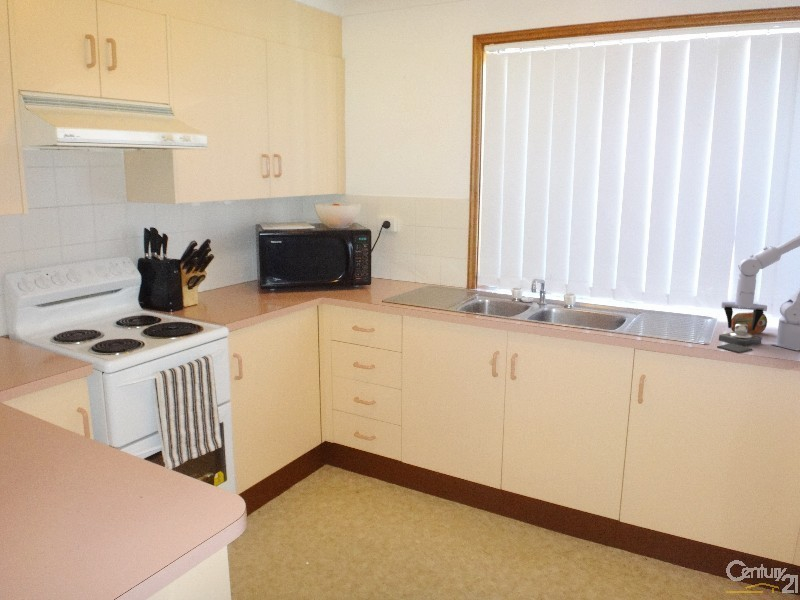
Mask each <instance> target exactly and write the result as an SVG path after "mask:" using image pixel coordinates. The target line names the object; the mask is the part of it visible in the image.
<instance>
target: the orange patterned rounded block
mask: <svg viewBox="0 0 800 600" xmlns="http://www.w3.org/2000/svg"><path fill="white" fill-rule="evenodd" d="M767 318H768V317H767V315H766V314H764V313H763V315H762V316H761V318H760V319H759V321H758V322H757V324H756V327H755V330H752V329H751V326H752V321H753V311H749V312H738V313H736V314H734V315H732V320H731V328H730V330H731V332H735V325H736V324H746V325H748V329H747V333H748V334H751V335H758V334H761V333H763V332H764V331H765V330H766V328H767V325H768V319H767Z"/></svg>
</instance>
